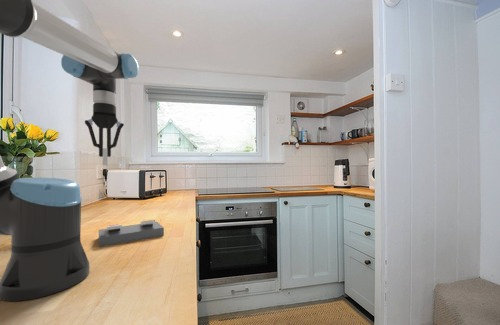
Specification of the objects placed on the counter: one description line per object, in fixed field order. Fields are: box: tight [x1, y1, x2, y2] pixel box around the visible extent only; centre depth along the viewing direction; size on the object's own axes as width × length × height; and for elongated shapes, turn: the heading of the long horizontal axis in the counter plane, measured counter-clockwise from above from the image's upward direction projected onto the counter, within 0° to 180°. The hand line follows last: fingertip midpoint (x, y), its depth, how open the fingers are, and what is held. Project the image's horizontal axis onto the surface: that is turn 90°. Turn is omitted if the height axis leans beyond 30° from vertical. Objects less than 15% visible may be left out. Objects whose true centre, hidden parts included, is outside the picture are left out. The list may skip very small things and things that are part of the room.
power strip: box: [98, 221, 165, 248], centre depth 83 cm, size 11×20×4 cm, turn 125°
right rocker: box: [139, 219, 156, 225], centre depth 86 cm, size 7×4×1 cm, turn 35°
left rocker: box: [106, 223, 122, 230], centre depth 80 cm, size 7×4×1 cm, turn 35°
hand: (104, 165), depth 87 cm, fingers closed
